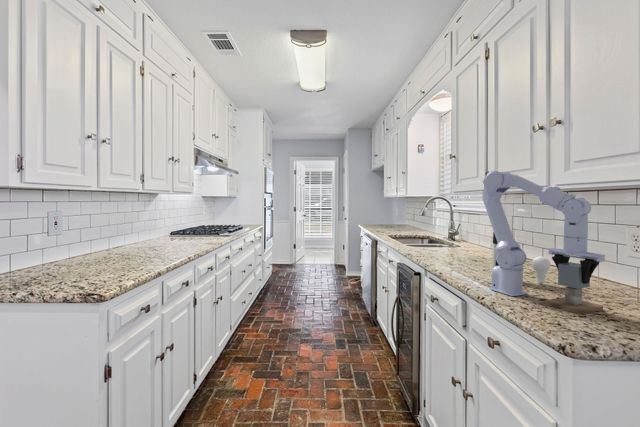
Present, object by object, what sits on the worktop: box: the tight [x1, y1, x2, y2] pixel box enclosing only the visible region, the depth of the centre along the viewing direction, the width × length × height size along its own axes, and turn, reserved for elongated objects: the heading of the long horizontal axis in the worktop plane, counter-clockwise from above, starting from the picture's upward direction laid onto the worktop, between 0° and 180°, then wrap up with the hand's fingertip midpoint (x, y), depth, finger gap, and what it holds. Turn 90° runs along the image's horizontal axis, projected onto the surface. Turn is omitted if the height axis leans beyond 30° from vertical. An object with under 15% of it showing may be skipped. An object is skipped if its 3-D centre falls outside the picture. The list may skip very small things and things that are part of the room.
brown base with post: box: [544, 286, 604, 315], centre depth 98 cm, size 10×11×6 cm
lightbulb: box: [531, 256, 552, 285], centre depth 125 cm, size 6×6×11 cm
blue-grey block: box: [557, 261, 591, 289], centre depth 98 cm, size 6×6×7 cm
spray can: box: [491, 231, 500, 271], centre depth 134 cm, size 7×7×20 cm
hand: (574, 280), depth 98 cm, fingers closed on blue-grey block, 6 cm apart
